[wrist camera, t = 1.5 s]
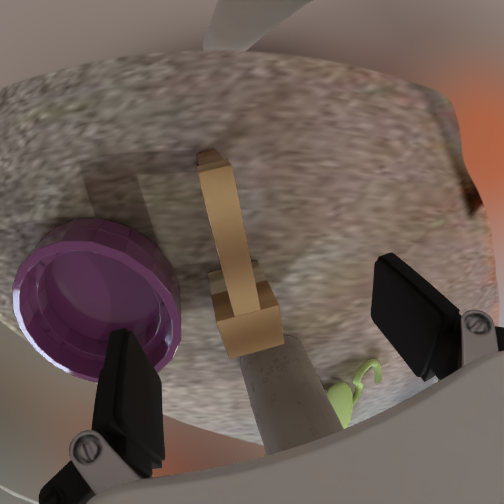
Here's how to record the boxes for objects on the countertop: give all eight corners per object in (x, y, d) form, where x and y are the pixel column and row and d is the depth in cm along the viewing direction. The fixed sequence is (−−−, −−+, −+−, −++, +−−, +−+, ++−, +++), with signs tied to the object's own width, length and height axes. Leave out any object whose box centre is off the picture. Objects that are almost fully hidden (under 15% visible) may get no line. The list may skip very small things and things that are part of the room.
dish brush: (176, 158, 22) (173, 179, 16) (235, 144, 23) (255, 159, 17) (218, 308, 30) (229, 359, 24) (263, 296, 30) (284, 343, 24)
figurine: (250, 453, 48) (256, 476, 43) (274, 369, 36) (286, 403, 31) (335, 435, 53) (344, 456, 48) (387, 350, 41) (405, 375, 36)
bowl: (8, 243, 21) (-15, 269, 17) (150, 193, 23) (142, 214, 19) (76, 358, 29) (68, 390, 25) (198, 333, 31) (203, 368, 26)
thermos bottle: (269, 385, 38) (340, 573, 13) (226, 364, 34) (292, 594, 10) (314, 350, 36) (414, 544, 12) (276, 324, 32) (386, 569, 8)
